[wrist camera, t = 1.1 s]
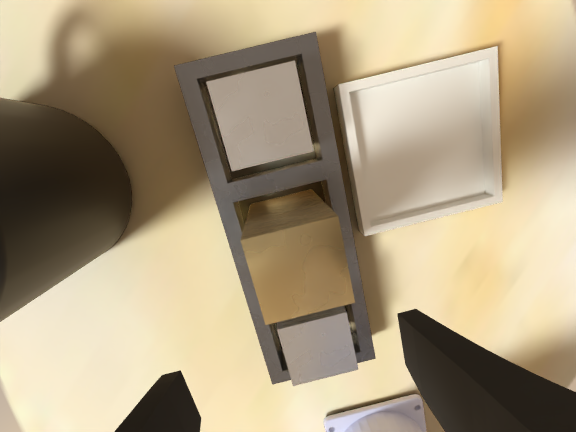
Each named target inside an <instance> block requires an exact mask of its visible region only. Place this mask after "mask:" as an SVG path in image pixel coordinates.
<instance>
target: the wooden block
mask: <svg viewBox="0 0 576 432" xmlns="http://www.w3.org/2000/svg"><path fill="white" fill-rule="evenodd" d="M240 241H241V244H242V247H243V251H244V254H245V257H246V261H247V264H248V268H249V271H250V274H251V278H252V281H253V284H254V288H255V291H256V295H257V298H258V301H259V305H260V308H261V311H262V315H263V318H264V321H265V325H268V324H272V323H276V322H280V321H284V320H288V319H292V318H296V317H300V316H304V315H308V314H312V313H316V312H320V311H324V310H328V309H332V308H336V307H340V306H344V305H348V304H352V303H355V299H354V294H353V289H352V284H351V279H350V274H349V268H348V263H347V258H346V253H345V248H344V243H343V238H342V232H341V227H340V222H339V217H338V215H337V214H336V213H335V212H334V211H333V210H332V209H331V208H330V207H329V206H328V205H327V204H326V203H325V202H324V201H323V200H322V199H321V198H320V197H319V196H318V195H317V194H316V193H315V192H314V191H313V190H312V189H309V190H305V191H301V192H297V193H293V194H289V195H285V196H281V197H277V198H272V199H268V200H264V201H260V202H256V203H252V204H250V208H249V211H248V215H247V219H246V222H245V226H244V229H243V233H242V236H241V240H240Z"/></svg>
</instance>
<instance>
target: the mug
mask: <svg viewBox="0 0 576 432" xmlns="http://www.w3.org/2000/svg"><path fill="white" fill-rule="evenodd" d="M131 205H132V193H131V186H130V180H129V177H128V174H127V172H126V169H125V167H124V165H123V163H122V161H121V159H120V157H119V155H118V154H117V153H116V151H115V150H114V148H113V147H112V146H111V145H110V143H109V142H108V141H107V140H106V139H105V138H104V137H103V136H102V135H101V134H100V133H99V132H98V131H96V130H95V129H94V128H93V127H92V126H90V125H89V124H87V123H86V122H84V121H83V120H81V119H79V118H78V117H76V116H74V115H72V114H69V113H67V112H65V111H62V110H59V109H56V108H53V107H49V106H44V105H39V104H33V103H27V102H21V101H15V100H10V99H4V98H0V322H1V321H2V320H4V319H5V318H7V317H8V316H10V315H11V314H13V313H14V312H16V311H17V310H19V309H20V308H22V307H23V306H25V305H26V304H28V303H29V302H31V301H32V300H34V299H35V298H37V297H38V296H40V295H41V294H43V293H44V292H46V291H47V290H49V289H50V288H52V287H53V286H55V285H56V284H58V283H59V282H61V281H62V280H64V279H65V278H67V277H68V276H70V275H71V274H73V273H74V272H76V271H77V270H79V269H80V268H82V267H83V266H85V265H86V264H88V263H89V262H91V261H92V260H94V259H95V258H97V257H98V256H100V255H101V254H103V253H104V252H106V251H107V250H108V249H109V248H111V247H112V246H113V245H114V244H115V243H116V242H117V240H118V239H119V238H120V236H121V235H122V233H123V231H124V230H125V228H126V226H127V223H128V220H129V216H130V211H131Z"/></svg>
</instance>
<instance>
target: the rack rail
mask: <svg viewBox="0 0 576 432" xmlns="http://www.w3.org/2000/svg"><path fill="white" fill-rule="evenodd" d="M296 65H298V70H299V74H300V79H301V84H302V89H303V94H304V99H305V104H306V109H307V114H308V119H309V124H310V128H311V133H312V138H313V143H314V148H315V153H316V159H312V160H308V161H304V162H300V163H296V164H292V165H287V166H283V167H279V168H275V169H271V170H267V171H263V172H259V173H255V174H251V175H247V176H242V177H238V178H234V179H232V178H231V174H230V171H229V167H228V164H227V160H226V157H225V153H224V150H223V146H222V143H221V140H220V136H219V133H218V129H217V126H216V122H215V119H214V115H213V112H212V108H211V105H210V101H209V98H208V94H207V91H206V86H208V90H209V93H210V97H211V100H212V104H213V107H214V111H215V114H216V118H217V121H218V125H219V128H220V132H221V135H222V139H223V142H224V146H225V149H226V153H227V156H228V160H229V163H230V167H231V170H232V171H235V170H240V169H244V168H248V167H252V166H256V165H260V164H264V163H268V162H272V161H276V160H281V159H285V158H289V157H293V156H297V155H301V154H305V153H309V152H313V146H312V141H311V136H310V131H309V126H308V122H307V117H306V112H305V107H304V102H303V97H302V92H301V87H300V83H299V78H298V73H297V68H296ZM174 68H175V71H176V74H177V78H178V81H179V84H180V87H181V90H182V94H183V97H184V100H185V103H186V107H187V110H188V113H189V116H190V120H191V123H192V126H193V129H194V132H195V136H196V139H197V142H198V145H199V149H200V152H201V155H202V158H203V162H204V165H205V168H206V171H207V174H208V178H209V181H210V184H211V187H212V191H213V194H214V197H215V200H216V204H217V207H218V210H219V213H220V217H221V220H222V223H223V226H224V229H225V233H226V236H227V239H228V242H229V246H230V249H231V252H232V255H233V259H234V262H235V265H236V268H237V271H238V275H239V278H240V281H241V284H242V288H243V291H244V294H245V297H246V301H247V304H248V307H249V310H250V313H251V317H252V320H253V323H254V326H255V330H256V333H257V336H258V339H259V343H260V346H261V349H262V352H263V355H264V359H265V362H266V365H267V368H268V372H269V375H270V378H271V381H272V384H276V383H280V382H284V381H288V380H292V384H293V386H295V385H299V384H303V383H307V382H311V381H315V380H319V379H323V378H327V377H331V376H335V375H338V374H342V373H346V372H350V371H354V370H358V365H357V363H360V362H364V361H368V360H371V359H375V352H374V347H373V342H372V336H371V331H370V325H369V320H368V314H367V309H366V303H365V298H364V292H363V287H362V281H361V276H360V271H359V265H358V260H357V254H356V249H355V243H354V238H353V232H352V227H351V221H350V216H349V210H348V205H347V200H346V194H345V189H344V183H343V178H342V172H341V167H340V161H339V156H338V150H337V145H336V139H335V134H334V129H333V123H332V118H331V112H330V107H329V101H328V96H327V90H326V85H325V79H324V74H323V68H322V63H321V58H320V52H319V47H318V41H317V36H316V32H313V33H309V34H304V35H300V36H296V37H292V38H288V39H283V40H279V41H275V42H271V43H267V44H263V45H258V46H254V47H250V48H246V49H242V50H238V51H233V52H229V53H225V54H221V55H217V56H212V57H208V58H204V59H200V60H196V61H192V62H187V63H183V64H179V65H175V66H174ZM319 181H321V182H322V187H323V192H324V197H325V202H326V204H327V205H328V206H329V207H330V208H331V209H332V210H333V211H334V212H335V213H336V214H337V215H338V217H339V222H340V227H341V232H342V238H343V243H344V248H345V253H346V258H347V263H348V268H349V274H350V279H351V284H352V289H353V294H354V299H355V303H352V304H348V305H347V310H348V315H349V320H350V325H351V330H352V333H351V331H350V326H349V321H348V316H347V312H346V310H345V308H344V306H340V307H336V308H332V309H328V310H324V311H320V312H316V313H312V314H308V315H304V316H300V317H296V318H292V319H288V320H284V321H280V322H277V331H278V335H279V338H280V342H281V345H282V349H283V350H281V348H280V345H279V341H278V338H277V334H276V331H275V327H274V324H273V323H272V324H268V325H265V321H264V318H263V315H262V311H261V308H260V305H259V301H258V298H257V295H256V291H255V288H254V284H253V281H252V278H251V274H250V271H249V268H248V264H247V261H246V257H245V254H244V251H243V247H242V244H241V241H240V240H241V236H242V233H243V229H244V226H245V223H244V219H243V216H242V213H241V209H240V206H239V202H238V201H241V200H245V199H249V198H253V197H258V196H262V195H266V194H270V193H274V192H278V191H282V190H286V189H290V188H294V187H298V186H302V185H306V184H311V183H315V182H319Z"/></svg>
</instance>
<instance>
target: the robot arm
mask: <svg viewBox="0 0 576 432" xmlns="http://www.w3.org/2000/svg"><path fill="white" fill-rule="evenodd" d="M398 321H399V327H400V333H401V339H402V346H403V352H404V358H405V364H406V366H407V368H408V370H409V372H410V374H411V376H412V378H413V380H414V382H415V384H416V386H417V387H418V389H419V391H420V393H421V395H422V397H423V398H424V400H425V402H426V403H427V405H428V406H429V408H430V409H431V411H432V412H433V414H434V415H435V417H436V418H437V420H438V421H439V423H440V424H441V426H442V427H443V429H444V431H445V432H576V392H574V391H572V390H569V389H567V388H565V387H562V386H560V385H558V384H556V383H553V382H551V381H549V380H547V379H544V378H542V377H540V376H538V375H536V374H534V373H532V372H530V371H528V370H526V369H524V368H522V367H520V366H517V365H515V364H513V363H511V362H509V361H507V360H505V359H503V358H501V357H500V356H498V355H496V354H494V353H492V352H490V351H488V350H486V349H484V348H483V347H481V346H479V345H477V344H475V343H473V342H472V341H470V340H468V339H466V338H465V337H463V336H461V335H459V334H458V333H456V332H454V331H452V330H451V329H449V328H447V327H446V326H444V325H442V324H440V323H439V322H437V321H435V320H434V319H432V318H430V317H429V316H427V315H425V314H424V313H422V312H420V311H418V310H417V309H413V310H410V311H406V312H402V313H398ZM200 424H201V417H200V414H199V412H198V410H197V407H196V405H195V403H194V400H193V398H192V396H191V393H190V391H189V389H188V386H187V384H186V382H185V379H184V377H183V375H182V372H181V370H180V371H176V372H173V373H169V374H165V375H162V376H161V377H160V378H159V379H158V380H157V381H156V383H155V384H154V385H153V386H152V387H151V388H150V390H149V391H148V392H147V393H146V394H145V396H144V397H143V398H142V399H141V400H140V402H139V403H138V404H137V405H136V406H135V408H134V409H133V410H132V411H131V413H130V414H129V415H128V416H127V417H126V419H125V420H124V421H123V422H122V423H121V425H120V426H119V427H118V428H117V429H116V430H115V432H200ZM324 427H325V430H326V432H427V429H426V422H425V415H424V407H423V401H422V399H421V397H420V396H419V395H418V394H413V395H409V396H405V397H401V398H397V399H393V400H389V401H385V402H381V403H377V404H373V405H369V406H365V407H361V408H358V409H354V410H350V411H346V412H342V413H338V414H334V415H330V416H327V417H326V418H325V419H324Z"/></svg>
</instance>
